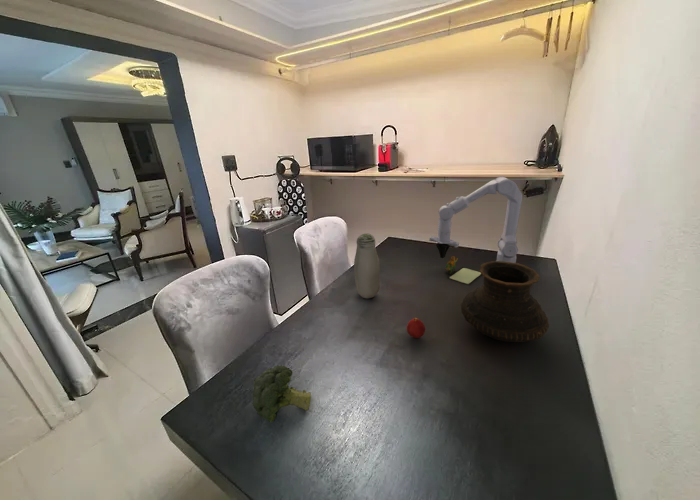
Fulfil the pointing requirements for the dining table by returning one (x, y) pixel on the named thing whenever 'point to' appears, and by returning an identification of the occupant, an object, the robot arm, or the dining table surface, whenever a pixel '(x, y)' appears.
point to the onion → (416, 328)
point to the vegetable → (277, 393)
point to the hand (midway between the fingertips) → (442, 257)
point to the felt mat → (465, 275)
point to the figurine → (451, 264)
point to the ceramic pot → (506, 304)
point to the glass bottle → (366, 267)
